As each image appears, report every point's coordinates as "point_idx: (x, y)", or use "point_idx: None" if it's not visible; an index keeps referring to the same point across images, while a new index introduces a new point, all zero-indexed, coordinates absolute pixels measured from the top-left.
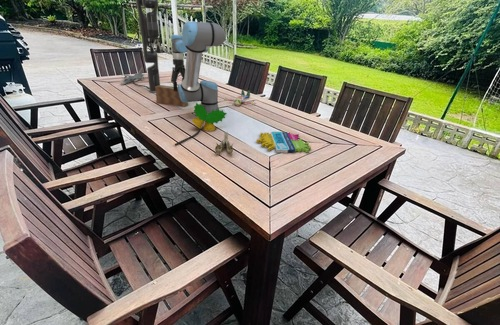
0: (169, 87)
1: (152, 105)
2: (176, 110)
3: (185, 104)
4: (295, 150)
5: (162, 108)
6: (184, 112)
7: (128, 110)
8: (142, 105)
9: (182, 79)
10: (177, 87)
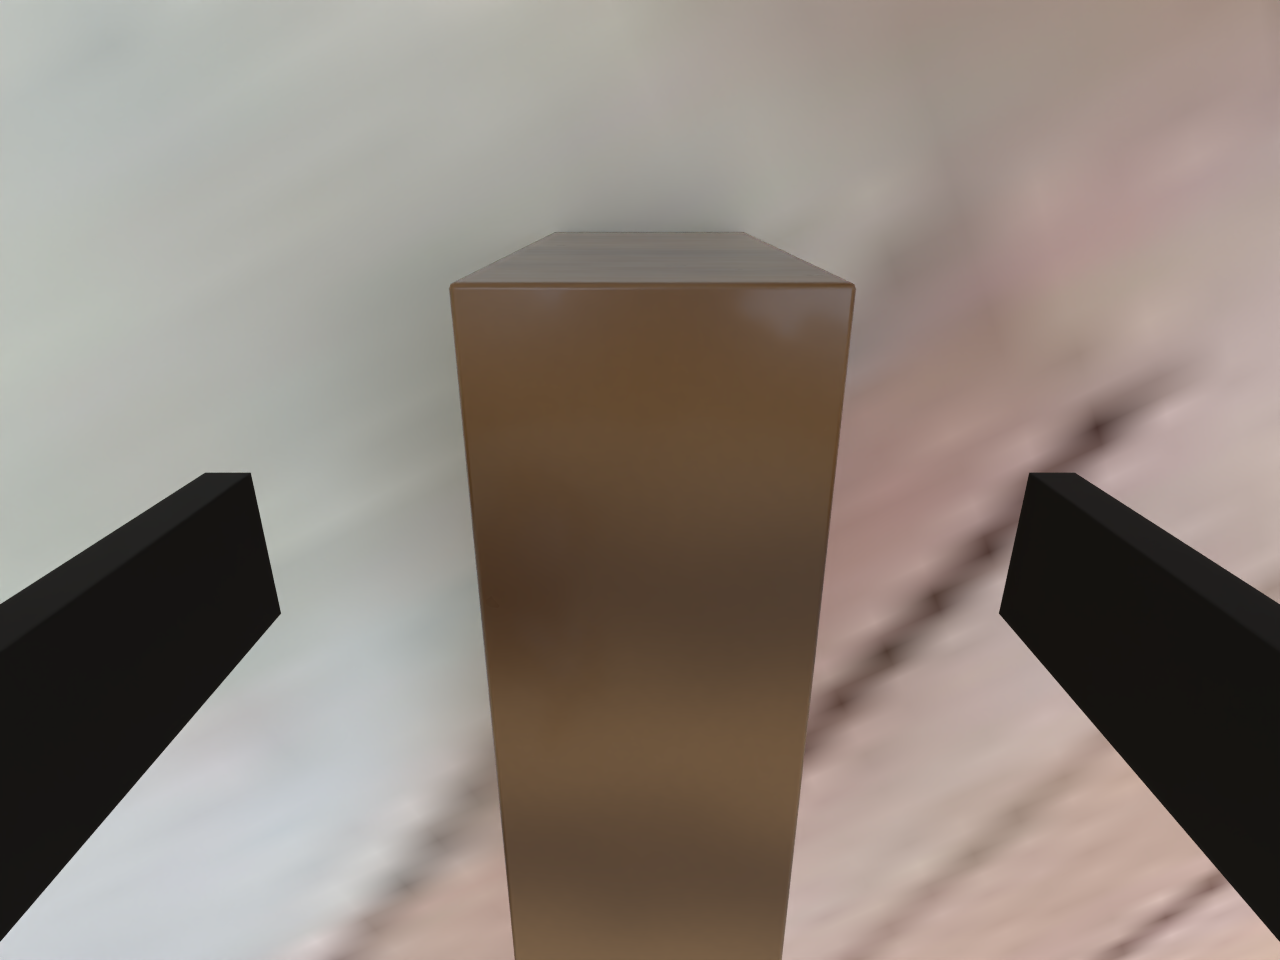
0: (682, 896)
1: (874, 795)
2: (1048, 282)
3: (691, 235)
4: None
5: (990, 589)
6: (1160, 18)
7: (1213, 929)
8: (925, 900)
9: (30, 866)
10: (534, 702)
